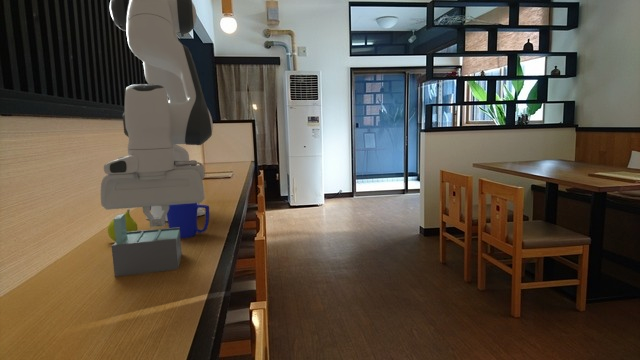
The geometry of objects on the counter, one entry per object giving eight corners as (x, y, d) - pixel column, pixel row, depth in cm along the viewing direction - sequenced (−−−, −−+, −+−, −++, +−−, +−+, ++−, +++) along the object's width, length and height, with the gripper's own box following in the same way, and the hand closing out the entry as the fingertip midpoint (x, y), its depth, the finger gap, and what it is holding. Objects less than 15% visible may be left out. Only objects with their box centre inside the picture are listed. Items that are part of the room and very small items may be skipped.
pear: (143, 240, 102) (140, 204, 101) (117, 248, 97) (113, 209, 95) (130, 236, 106) (126, 202, 105) (104, 243, 101) (100, 206, 99)
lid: (122, 238, 84) (119, 212, 83) (179, 232, 87) (177, 208, 86) (113, 249, 76) (110, 221, 75) (176, 243, 79) (174, 216, 78)
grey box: (125, 262, 85) (122, 232, 84) (182, 256, 89) (179, 227, 88) (115, 279, 76) (111, 245, 75) (178, 272, 79) (175, 239, 78)
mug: (202, 243, 99) (200, 205, 97) (161, 241, 101) (158, 204, 100) (217, 234, 107) (215, 199, 105) (178, 232, 109) (176, 198, 108)
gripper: (204, 158, 85) (208, 218, 87) (103, 163, 80) (110, 226, 82) (203, 161, 79) (207, 225, 81) (94, 166, 74) (101, 234, 76)
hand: (157, 225), depth 81 cm, fingers closed
